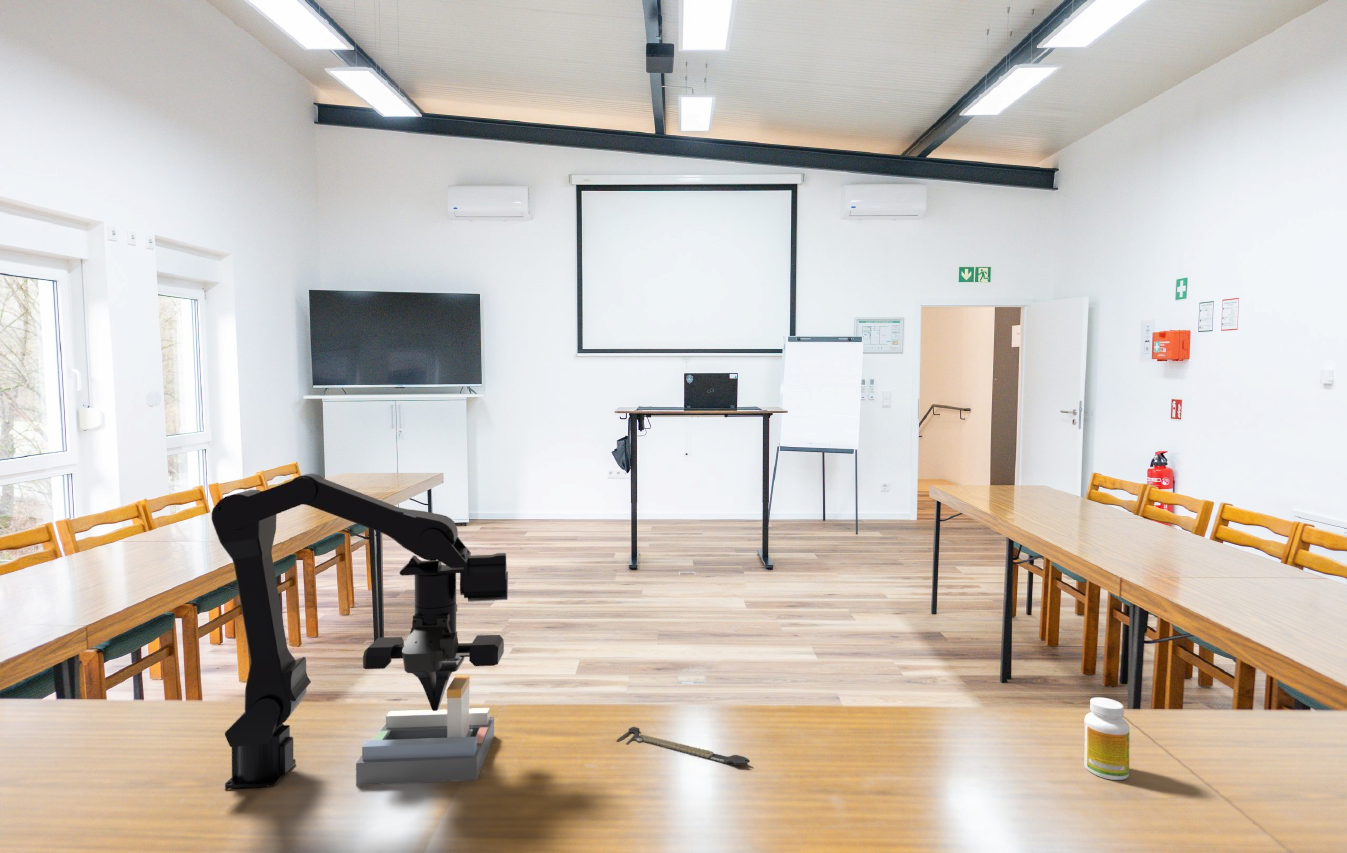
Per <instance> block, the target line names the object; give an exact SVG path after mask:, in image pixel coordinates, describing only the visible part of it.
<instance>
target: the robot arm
mask: <svg viewBox="0 0 1347 853" xmlns="http://www.w3.org/2000/svg"><path fill="white" fill-rule="evenodd" d="M301 505H305V506H309V507H311V508H313V509H317V510H318V511H322V512H325V513H327V514H330V515H333V516H335V517H337V518H340V519H343V520H346V521H348V522H351V523H355V524H357V525H359V526H362V527H365V528H367V529H370V530H373V531H374V532H375V531H376V532H379V533H381V534H384V535H385V536H387V537H389V538H391V539H392V540H394V541H395V542H396V543H397V544H399V546H401V547H402V548H404V549H406V550H407V551H408V552H410V553H412V554H414V555H412V556H411V558H410V559H409V561H408V563H407V564H405V565H404V566H403V567H402V568H401V570H400V571H399V575H400V576H414V614H413V615H412V621H411V623H412V624H411V628H410V631H409V634H408V636H407V638H406V640H404V639H403V637H402V636H393V637H392V636H388V637H385V636H383V637H378V638H376V639H375V640H374V641H373V642H372V643H371V644H370V645H369V646H368V647H367V648H366V649H365V650H364V652H363V655H362V669H365V670H382V669H383V670H384V669H386V668H387V667H388V666H389V665H390V664H391V663H392V660H397V659H399V660H400V659H401V660H402V661H403V668H404V672H405V673H407V674H413V675H414V676H415V677H416V678H417V679H418V680H419V682H420V684H421V685H422V686H421V687H422V688H423V690H424V694H425V695H426V697H427V698H426V699H427V700H428V703H429V706H430V708H431V710H433V711H437V710H439V709H440V706H441V703H442V700H443V697H444V694H445V692H446V690H447V689H446V688H447V686H448V683H449V681H450V677H451V675H452V674H453V673H455V672H457V671H458V670H459V669H460V667H461V665H462V664H463V662H464V660H465V658H469V660H468V661H469V662H470V663H471V665H473V666H474V667H491V666H492V667H493V666H494V667H495V666H497V665H499V662H500V661H501V659H502V657H503V655H504V652H505V648H504V647H505V641H504V638H503V637H502V636H501V635H500V634H486V635H485V634H483V635H482V634H480V635H476V637H475V638H474V640H473V641H472V642H466V643H465V642H464V643H463V642H460V643H459V638H458V631H457V612H458V604H457V574H459V592H460V593H459V594H460V596H463V599H467V602H468V603H470V602H471V603H474V602H489V601H492V602H493V601H508V594H509V571H507V570H508V568H507V566H508V564H507V554H506V553H505V552H499V553H494V554H482V555H481V554H478V555H477V554H476V555H475V554H474V555H472V552H471V551H470V550H469V548H468V547H467V546H466V545H465V544H464V542H463V541H462V540H461V538H459V533H458V532H459V531H458V528H457V525H456V523H455V521H454V520H453V519H452V518H451V517H449V516H448V515H447V516H446V515H444V514H440V513H439V514H438V513H434V512H429V511H424V510H416V509H409V508H404V507H403V508H402V507H400V506H396V505H394V504H391V503H388V502H386V501H383V500H380V499H378V498H375V497H373V496H370V495H367V494H365V493H362V492H359V491H358V490H355V489H352V488H349V487H346V486H344V485H341V484H339V483H336V482H333V481H331V480H328V479H326V478H324V477H323V476H322V475H320V474H317V473H306V474H302V475H299V476H297V477H295V478H293V479H292V480H290V481H287V482H285V483H282V484H279V485H276V486H274V487H271V488H268V489H265V490H263V491H262V490H260V489H248V490H245V491H241V492H237V493H233V494H229V495H227V496H225V497H223V498H221V499H220V500H219V501H218V502H217V503H216V504H215V506H214V507H213V508H212V510H211V522H212V525H213V527H214V531H215V533H216V536H217V538H218V541H219V544H220V545H221V546H222V548H223V549H224V551H225V552H226V553H227V555H228V556H229V557H230V558H231V560H232V562H233V566H234V572H235V579H236V585H237V590H238V595H239V602H240V608H241V614H242V617H243V618H242V619H243V620H242V621H243V627H244V632H245V638H246V642H247V643H246V644H247V650H248V655H249V659H250V660H249V661H250V662H249V664H250V665H249V669H248V675H247V680H246V682H245V683H246V684H245V690H244V712H243V713H242V714H241V715H240V716H239V717H238V718H237V720H235V722H233V723H232V724H231V726H230V727H229V728H228V729H226V731H225V732H224V736H225V738H226V741H227V743H228V745H229V747H230V748H231V777H230V779H228V780H227V781H226V782H225V783H224V788H225V789H237V788H240V789H241V788H262V787H263V788H264V787H266V788H268V787H274V786H275V785H277V784H278V783H279V782H280V780H281V779H283V777H284V776H285V775H286V774H287V773H288V772H289V771H290V770H291V769H292V767H294V765H295V764H296V761H297V760H296V759H295V758H294V737H293V736H291V725H289V724H284V723H285V722H286V721H287V720H288V719H289V718H290V716H291V715H292V714H293V712H295V710H296V709H297V708H298V706H299V705H300V703H302V701H303V700H304V698H305V697H306V693H307V688H309V687H308V686H310V684H311V682H312V681H311V679H310V678H309V677H308V673H307V658H306V656H303V657H300V658H297V659H295V657H294V656H293V654H292V653H291V652H290V651H289V648H288V644H287V639H286V638H287V637H286V631H285V625H284V620H283V614H282V607H281V602H280V596H279V591H278V590H279V589H278V584H277V577H276V573H275V566H274V561H273V553H272V552H273V551H272V550H273V545H274V541H275V535H276V532H277V531H276V530H277V515H278V514H281V513H283V512H286V511H288V510H289V511H290V510H291V509H293V508H296V507H299V506H301ZM419 558H421V559H423V560H421V559H419Z"/></svg>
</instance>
